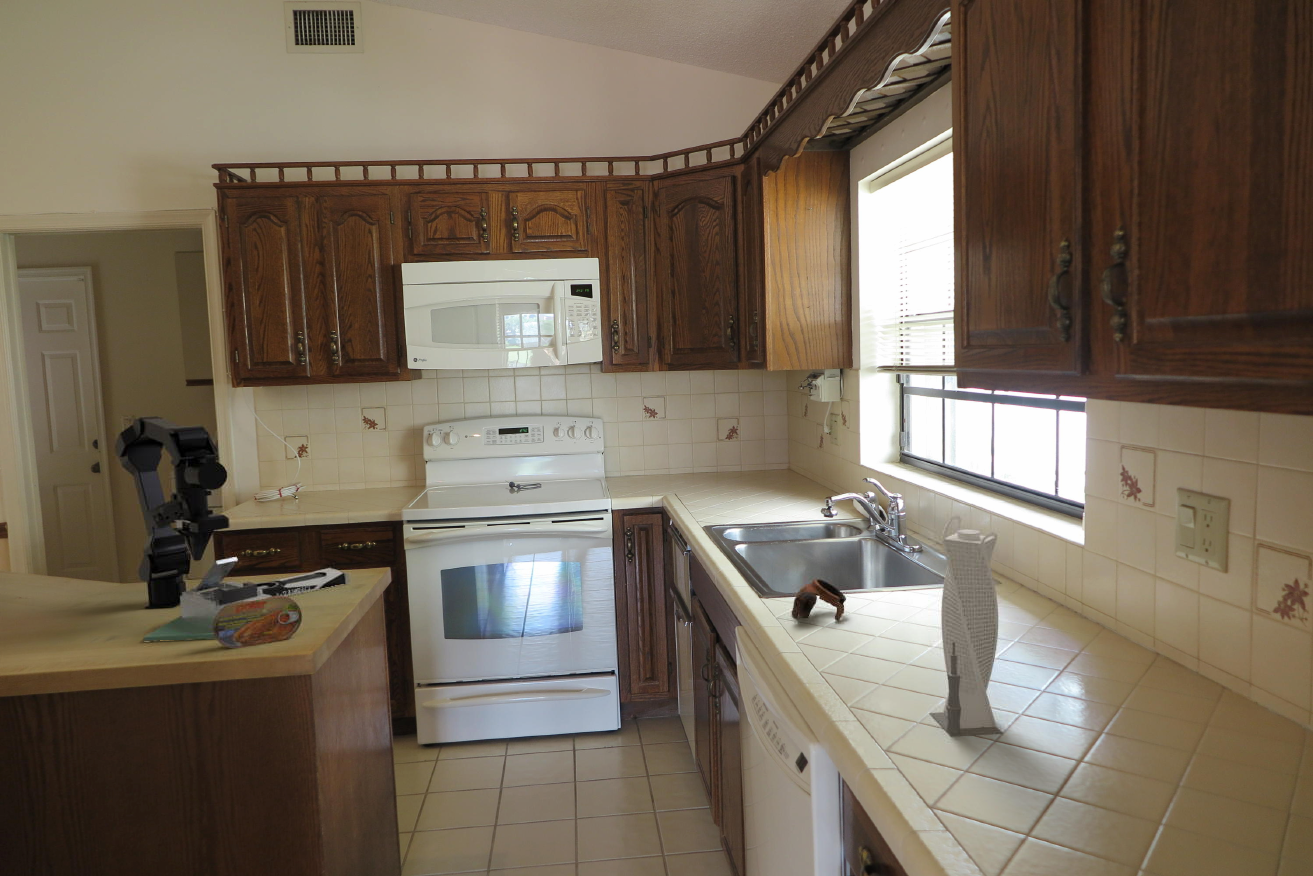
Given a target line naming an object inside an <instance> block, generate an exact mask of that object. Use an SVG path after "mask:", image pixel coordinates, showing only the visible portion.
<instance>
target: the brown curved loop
mask: <svg viewBox="0 0 1313 876" xmlns="http://www.w3.org/2000/svg"><path fill="white" fill-rule="evenodd" d="M817 599H819V600H821V601H823V602H824V603H827V604H830V605H831V606H832V607H834V608H836V613H835V615H834V620H835V621H840V620H841V618H842V615H844V613H845V605H844V604H845V602H846V601H847V597H846V595H845V594H843V592H842V591H840V590H839V589H838V588H837V587H835V585H832V584H831V583H829V582H827V581H825V580H823V579H820V578H813V581H812V582H811V583H808V584H805V585H804V586H802V587H801V589H799V591H798V592H797V594H796V596H795V598H794V600H793V607H792V610H791V615H792V617H793V618H794V619H795V620H798V619H799V617H800V618H801V619H809V617H810V615H811V612H812V610H814V606H816V603H817V601H818V600H817Z"/></svg>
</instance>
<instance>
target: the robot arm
mask: <svg viewBox="0 0 1313 876" xmlns="http://www.w3.org/2000/svg"><path fill="white" fill-rule="evenodd" d="M163 449H164V450H165V451H166V452H167V453H169V455H170V457H171V458H172V459H171V461H170V464H171V466H173V476H174V487H175V492H171V494H170V500H169V501H167V502H166V499H165V496H164V492H163V488H162V483H161V480H160V475H159V472H158V467H159V465H160V462H161V460H162V457H163V455H162V451H163ZM114 450H115V451H114V452H115V455H116V456H117V457H118V459H119V462H120V465H121V466H122V468H123V469H125V471H127V472H128V473H129V474H130V475H131V476H132V477H133V481H134V485H135V489H136V493H137V496H138V499H139V500H138V501H139V504H140V509H141V512H142V516H143V521H144V525H145V528H146V532H147V535H148V536H147V540H146V542H145V545H144V548H143V551H142V553H143V557H142V560H141V562H140V565H139V568H138V575H139V579H140V581H142V582H143V581H144V582H145V583H146V584H147V585H146V586H147V599H148V604H146V605H144V608H145V609H155V608H175V607H177V606H179V605H181V602H180V596H182V595H183V594H182V592H185V591H186V592H187V583H186V580H184V575H190V569H191V559H193V561H195V562H198V561H201V560H202V559H203V555H204V554H205V551H206V548H207V546H208V544H209V542H210V539H211V538H212V536H213V534H214V531H218V530H223V529H229V528H230V526H231V525H230V518H229V517H228V516H226V515H225V514H222V513H214V509H210V507H209V506H210V505H209V496H213V495H212V491H215V490H218V489H220V488H221V487H223V486H224V485H225V484H226V482H227V479H228V471H227V470H226V467H225V466H224V465H223V464H222V463H220V462H218V461H217V458H219V455H218V453H217V452H218V447H217V446H216V445H215V443H214V441H213V439H212V438H211V436H210V434H209V432H208V431H207V429H206V428H205V427H204V426H203V425H184V426H181V425H180V424H176V423H173V422H171V421H168V420H165V419H164V418H163V417H160V416H158V415H157V416H142V417H138V418H135V419H134V421H133V423H132V424H131V425H130V426H128V427H127V428H125V429H123V431H121V432H120V433H119V435H118V437H117V438H116V442H115V443H114ZM174 523H176V524H175V525H176V527H174V528H173V526H172V524H174Z"/></svg>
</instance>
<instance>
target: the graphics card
mask: <svg viewBox="0 0 1313 876" xmlns="http://www.w3.org/2000/svg"><path fill="white" fill-rule="evenodd" d="M349 574H350V573H349V572H348V573H346V572H344V571H341V570H338V569H335V568H332V567H327V568H324V569H318V570H314V571H312V572H309V573H305V574H299V575H295V576H289V577H284V578H280V579H276V580H275V579H274V580H270V581H266V582H265V581H264V582H258V583H257V582H256V583H255V584H257V588H258V589H262V593H263V594H265V595H266V597H272V596H288V597H290V596H289V595H292V594H298V593H302V594H304V593H303V592H307V591H311V590H316V591H318V590H317V589H321V588H325V587H330V588H332V587H331V586H334V587H336V586H335V585H339V586H341V585H340V584H344V585H347V584H346V583H349V584H350V577H349V576H350V575H349ZM325 589H326V588H325ZM321 590H322V589H321ZM307 593H308V592H307ZM298 595H299V594H298Z"/></svg>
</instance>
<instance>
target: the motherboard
mask: <svg viewBox="0 0 1313 876" xmlns="http://www.w3.org/2000/svg"><path fill="white" fill-rule="evenodd" d="M187 639H205V640H217V639H216V638H215V636H214V633H213V631H212V630H209V629H206V628H203V627H200V626H198V625H195V624H192V623H189V622H187V621H184V620H182V615H180V616H179V617H177V618H175V619H173V620H171V621H170V622H168V623H166V624H165V625H162V626H160V627H159V628H157V629H156V630H154V631H152V632H150V633H148V634H146V635H145V636H143V642H144V641H155V640H156V641H160V640H184V641H188V640H187Z"/></svg>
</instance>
